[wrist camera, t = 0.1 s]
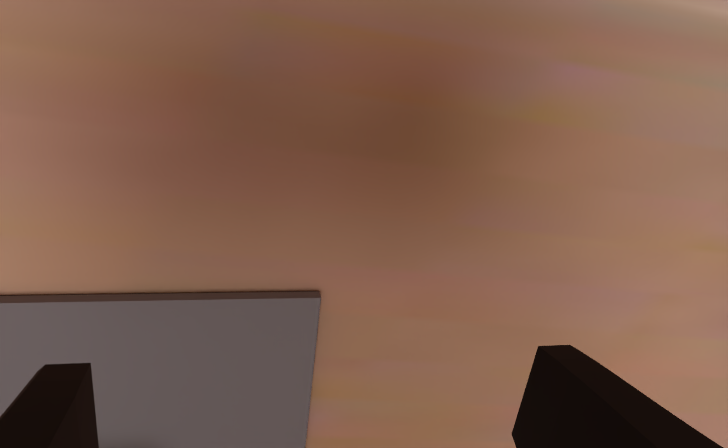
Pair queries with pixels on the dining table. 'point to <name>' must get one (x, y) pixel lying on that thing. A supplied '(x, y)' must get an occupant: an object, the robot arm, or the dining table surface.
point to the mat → (174, 363)
